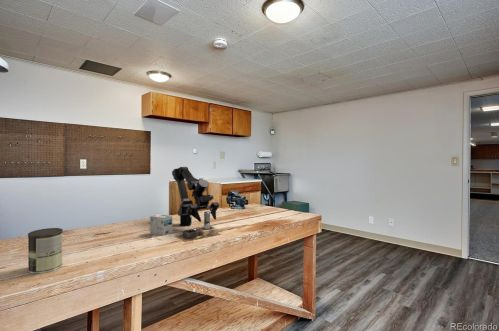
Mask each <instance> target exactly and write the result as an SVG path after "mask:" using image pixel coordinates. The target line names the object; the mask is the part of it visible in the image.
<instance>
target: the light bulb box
mask: <svg viewBox="0 0 499 331" xmlns="http://www.w3.org/2000/svg"><path fill="white" fill-rule="evenodd" d="M149 218H150V219H149V224H150V225H149V230H150V231H149V235H152V236H154V235H160V236H166V235H168V234H171V233H173V215H172V214H171V215H170V214H164V213H163V214H162V213H157V214H151V215H150V217H149Z"/></svg>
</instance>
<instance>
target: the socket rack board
mask: <svg viewBox="0 0 499 331" xmlns="http://www.w3.org/2000/svg"><path fill="white" fill-rule="evenodd" d="M221 235H223V234H221V233H219V228H217V227H214V226H212V225H210V230H204V226H200V227H199V226H198V227H195V229H194V228H193V229H192V228H191V229H187V230H186V229H185V230H182V234H180V235H176V236H174V237H175V238H176V239H179V240H181V241H182V242H184V243H188V242H193V241H196V240H201V239H202V240H203V239H207V238H212V237H217V236H221Z"/></svg>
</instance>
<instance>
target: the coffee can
mask: <svg viewBox="0 0 499 331" xmlns="http://www.w3.org/2000/svg"><path fill="white" fill-rule="evenodd" d="M63 230H64V229H63V228H60V227H49V228H48V227H47V228H41V229H37V230H36V229H35V230H32V231H30V232H28V233H27V236H28V237H27V239H28V240H27V244H28V246H27V247H28V249H27V252H28V253H27V254H28V256H27V258H28V262H27V266H28V267H27V268H28V269H27V272H28V274H32V275H39V274H40V275H41V274H47V273H50V272H54V271H56V270H59V269H60V268H61V267H62V266H63V232H64V231H63Z"/></svg>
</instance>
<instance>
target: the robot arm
mask: <svg viewBox="0 0 499 331" xmlns="http://www.w3.org/2000/svg"><path fill="white" fill-rule="evenodd" d="M171 175H172V177H173V180H174V181H176V183H177V188H178V192H179V197H180V201H181V202H180V204H179V209H178V211H177V216H179V222H180V223H179V227H190V226H191V225H192V222H193V221H192V220H193V218H195V220H197V221H198V222H199V223H201V222H202V219H201V217H200V214H199V211H202V210H209V212H210V215H211V217H212V218H213V219H214V220H217V210H218V209H219V207H220V206H221V204H220V202H217V201H214V202H211V203H210V201H213V199H214V196H213V193H209V194H204V193H205V192H206V190H207V188H208V186H209V182H208V181H207V180H205V179H204V178H203V177H202V178H196V177H194V176H193V174H192V172H191V171H190V170H189V167H187V166H180V167H178V168H174V169H173V170H172V171H171ZM185 181H186V182H185ZM186 183H187V185H186ZM187 189H188V190H189V191H192V192H191V197H193V199H194V202H193V201H192V200H190V199H189V196H188V190H187ZM193 203H194V204H193ZM209 204H210V205H209ZM192 217H193V218H192Z"/></svg>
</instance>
